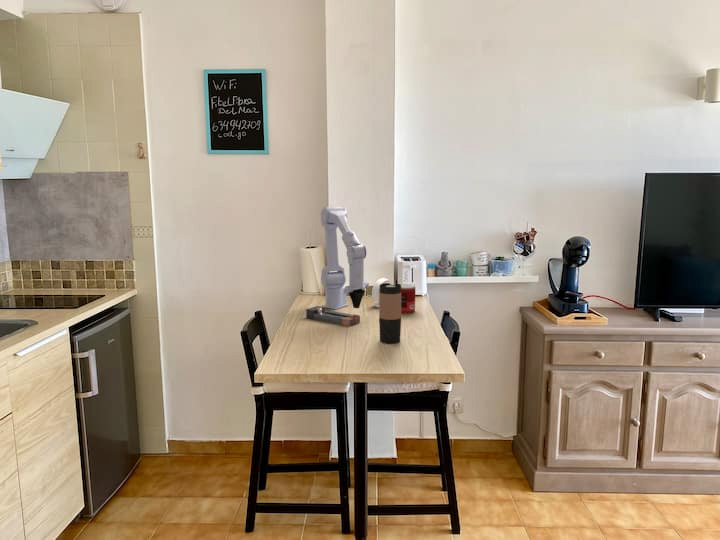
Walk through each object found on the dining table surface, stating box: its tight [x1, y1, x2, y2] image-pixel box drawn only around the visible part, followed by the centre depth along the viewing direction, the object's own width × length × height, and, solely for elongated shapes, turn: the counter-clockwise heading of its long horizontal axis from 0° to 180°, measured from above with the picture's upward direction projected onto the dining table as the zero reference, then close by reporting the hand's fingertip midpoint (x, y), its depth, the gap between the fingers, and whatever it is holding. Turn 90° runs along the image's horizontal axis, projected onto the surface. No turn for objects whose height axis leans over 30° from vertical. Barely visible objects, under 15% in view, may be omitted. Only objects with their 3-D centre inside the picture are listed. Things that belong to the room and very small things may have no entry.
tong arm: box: [325, 309, 361, 325], centre depth 223 cm, size 16×3×3 cm, turn 54°
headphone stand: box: [371, 277, 390, 308], centre depth 246 cm, size 5×6×12 cm
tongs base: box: [305, 305, 355, 327], centre depth 223 cm, size 22×7×4 cm, turn 54°
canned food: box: [400, 283, 416, 314], centre depth 237 cm, size 8×8×11 cm
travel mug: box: [378, 282, 402, 345], centre depth 194 cm, size 8×8×20 cm
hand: (356, 307), depth 226 cm, fingers closed
